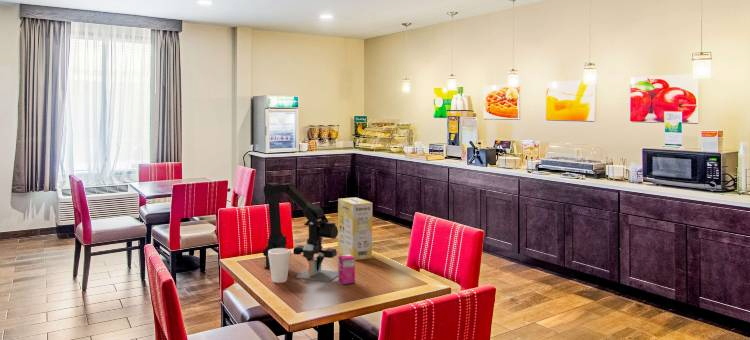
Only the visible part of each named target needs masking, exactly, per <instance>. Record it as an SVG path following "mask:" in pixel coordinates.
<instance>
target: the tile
mask: <svg viewBox="0 0 750 340" xmlns="http://www.w3.org/2000/svg"><path fill="white" fill-rule="evenodd" d="M317 256H318V255H317ZM317 256H314V258H313V259H311V260H309V262H308V269H309V275H311V276H314V275H316V274H317V273H319V272H320V271H321V270H322V265H321V266H320V268H319V270H318V271H317V258H316V257H317Z"/></svg>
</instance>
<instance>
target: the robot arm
mask: <svg viewBox="0 0 750 340" xmlns="http://www.w3.org/2000/svg"><path fill="white" fill-rule="evenodd" d="M262 188H263V195H264V199H265V200H266V202H268V203H267V204H268V205H267V206H268V218H269V230H270V231H269V232H270V234H269V237H268V238H267V244H266V245H267V246H266V247H265V248H264V249H263V250H262V254H263V256H264V257H265V266H264V267H263V268H264V269H266V270H267V269H269V270H270V263H269V257H268V251H269V250H271V249H276V248H285V249H287V248H286V247H287V245H288V243H287V235H284V234H283V233H282V225H281V224H282V223H281V210H280V209H281V207H280V201H281V198H282V194H283V193H285V195H287V196H288V197H289V198H290V199H291V200H292V201H293V202H294V203H295V204H296V205H297V206H298V207H299V208H300V209H301V210H302V213H303V216H304V217H305V218H306V219H307V221H306V222H304V226H306V227H308V238H307V240H306V244H304V245H297V246H296V247H294V248H293V255H301V254H302V257H303V258H305V259H306V260H307V262H308V263H309V260H311V259H313V258H314V257H316V256H315V254H316V255H317V257H316V258H317V271H318V270H319V268H320V266H321V267H322V263H323V261H324V259H325V258H328V259H329V258H330V259H332V258H334V257H336V256H337V255H338V250H337V249H336V248H331V247H330V248H329V247H327V248H326V249H323V247H324V246H323V245H322V241H323V238H325V239H333V240H335V239H336V238H338V226H336V222H329V219H328V218H327V216H326V214H325V213H324V212H325V211H324V209H323V208H322V207H320V206H319V205H317V204H315V203H313V202H311V201H310V200H308V199H307V198H306V196H305V195H303V194H302V192H300V191H299V189H297V188H296V187H295V185H294V184H293V183H291V182H287V183H286V182H285V183H279V182H270V183H266V184H265V185H264V186H263V187H262Z"/></svg>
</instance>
